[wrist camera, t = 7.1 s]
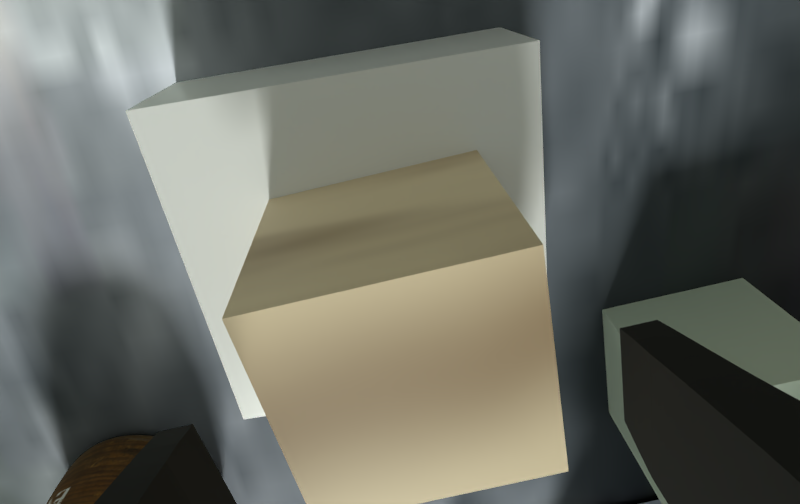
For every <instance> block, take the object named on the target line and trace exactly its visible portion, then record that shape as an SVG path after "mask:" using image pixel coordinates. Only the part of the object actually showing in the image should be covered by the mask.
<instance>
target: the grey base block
mask: <svg viewBox="0 0 800 504" xmlns="http://www.w3.org/2000/svg"><path fill="white" fill-rule="evenodd" d="M126 113H127V116H128V118H129V121H130V124H131V126H132V129H133V132H134V134H135V137H136V139H137V142H138V145H139V147H140V150H141V152H142V155H143V158H144V160H145V163H146V165H147V168H148V171H149V173H150V176H151V179H152V181H153V184H154V186H155V189H156V192H157V194H158V197H159V199H160V202H161V205H162V207H163V210H164V212H165V215H166V218H167V220H168V223H169V225H170V228H171V231H172V233H173V236H174V239H175V241H176V244H177V246H178V249H179V252H180V254H181V257H182V259H183V262H184V265H185V267H186V270H187V272H188V275H189V278H190V280H191V283H192V286H193V288H194V291H195V293H196V296H197V299H198V301H199V304H200V306H201V309H202V312H203V314H204V317H205V319H206V322H207V325H208V327H209V330H210V333H211V335H212V338H213V340H214V343H215V346H216V348H217V351H218V353H219V356H220V359H221V361H222V364H223V366H224V369H225V372H226V374H227V377H228V380H229V382H230V385H231V387H232V390H233V393H234V395H235V398H236V400H237V403H238V406H239V408H240V411H241V413H242V416H243V419H250V418H256V417H262V416H266V415H265V412H264V410H263V408H262V406H261V404H260V402H259V399H258V397H257V395H256V393H255V391H254V388H253V386H252V384H251V382H250V380H249V377H248V375H247V373H246V371H245V369H244V367H243V364H242V362H241V360H240V358H239V356H238V353H237V351H236V349H235V347H234V345H233V342H232V340H231V338H230V336H229V334H228V332H227V329H226V327H225V325H224V323H223V321H222V317H223V315H224V312H225V310H226V307H227V305H228V302H229V300H230V297H231V295H232V292H233V289H234V287H235V284H236V282H237V279H238V277H239V274H240V272H241V269H242V267H243V264H244V262H245V259H246V256H247V254H248V251H249V249H250V246H251V244H252V241H253V239H254V236H255V234H256V231H257V229H258V226H259V223H260V221H261V218H262V216H263V213H264V211H265V208H266V206H267V203H268V201H269V199H273V198H278V197H282V196H286V195H290V194H294V193H299V192H303V191H307V190H311V189H315V188H320V187H324V186H328V185H332V184H336V183H340V182H345V181H349V180H353V179H357V178H361V177H366V176H370V175H374V174H378V173H382V172H387V171H391V170H395V169H399V168H403V167H407V166H412V165H416V164H420V163H424V162H428V161H433V160H437V159H441V158H445V157H449V156H454V155H458V154H462V153H466V152H470V151H474V150H477V151H478V152H479V154H480V155H481V157H482V158H483V159H484V161H485V162H486V164H487V165H488V167H489V168H490V169H491V171H492V172H493V174H494V175H495V177H496V178H497V179H498V181H499V182H500V184H501V185H502V187H503V188H504V189H505V191H506V192H507V194H508V195H509V197H510V198H511V199H512V201H513V202H514V204H515V205H516V207H517V208H518V209H519V211H520V212H521V214H522V215H523V217H524V218H525V219H526V221H527V222H528V224H529V225H530V227H531V228H532V229H533V231H534V232H535V234H536V235H537V237H538V238H539V239H540V241H541V242H542V244H543V247H544V256H545V265H546V274H547V262H546V230H545V198H544V166H543V134H542V101H541V69H540V40H537V39H534V38H531V37H528V36H525V35H522V34H519V33H516V32H513V31H510V30H507V29H504V28H501V27H499V28H493V29H487V30H481V31H475V32H469V33H463V34H457V35H452V36H446V37H440V38H434V39H428V40H422V41H416V42H410V43H405V44H399V45H393V46H387V47H381V48H375V49H369V50H363V51H358V52H352V53H346V54H340V55H334V56H328V57H322V58H316V59H311V60H305V61H299V62H293V63H287V64H281V65H275V66H269V67H264V68H258V69H252V70H246V71H240V72H234V73H228V74H222V75H217V76H211V77H205V78H199V79H193V80H187V81H181V82H176V83H174V84H172V85H171V86H169V87H167V88H165V89H164V90H162V91H160V92H158V93H156V94H155V95H153V96H151V97H149V98H148V99H146V100H144V101H142V102H141V103H139V104H137V105H135V106H133V107H132V108H130V109H128V110H126Z"/></svg>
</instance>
